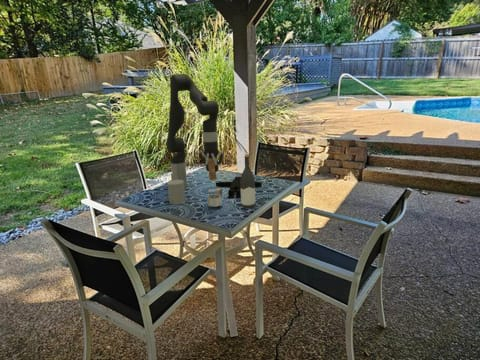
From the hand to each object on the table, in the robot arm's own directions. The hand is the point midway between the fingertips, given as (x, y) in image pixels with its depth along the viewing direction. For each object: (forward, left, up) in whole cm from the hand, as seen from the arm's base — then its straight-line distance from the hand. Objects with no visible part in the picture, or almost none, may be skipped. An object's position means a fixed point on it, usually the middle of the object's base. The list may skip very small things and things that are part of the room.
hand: (212, 171), depth 172 cm
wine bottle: (+18, +6, -22) cm, 29 cm away
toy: (+6, +30, -22) cm, 38 cm away
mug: (0, +3, -21) cm, 22 cm away
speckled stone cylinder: (-25, +5, -22) cm, 33 cm away
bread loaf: (0, 0, -4) cm, 4 cm away
